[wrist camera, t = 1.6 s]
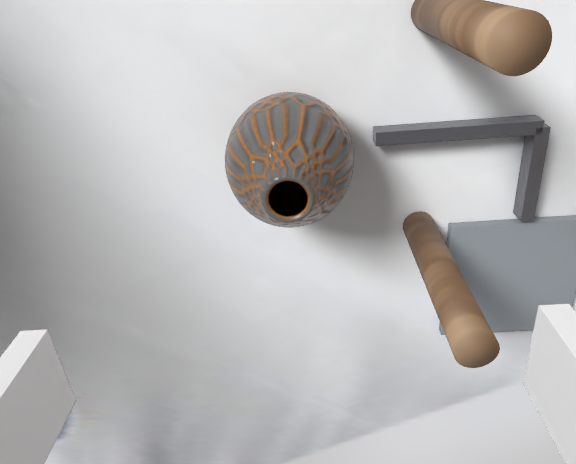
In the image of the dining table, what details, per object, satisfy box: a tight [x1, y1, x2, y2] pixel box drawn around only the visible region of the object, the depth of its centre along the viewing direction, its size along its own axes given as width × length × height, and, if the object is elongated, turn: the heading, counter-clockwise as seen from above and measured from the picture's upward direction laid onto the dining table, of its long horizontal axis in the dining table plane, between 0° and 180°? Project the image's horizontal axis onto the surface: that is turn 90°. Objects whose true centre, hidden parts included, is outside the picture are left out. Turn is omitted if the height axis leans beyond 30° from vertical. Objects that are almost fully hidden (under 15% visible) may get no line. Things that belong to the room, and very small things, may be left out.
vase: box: [225, 92, 354, 227], centre depth 26 cm, size 7×7×9 cm
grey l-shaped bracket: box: [373, 115, 550, 221], centre depth 30 cm, size 10×6×1 cm, turn 94°
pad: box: [439, 215, 576, 335], centre depth 34 cm, size 9×9×1 cm
